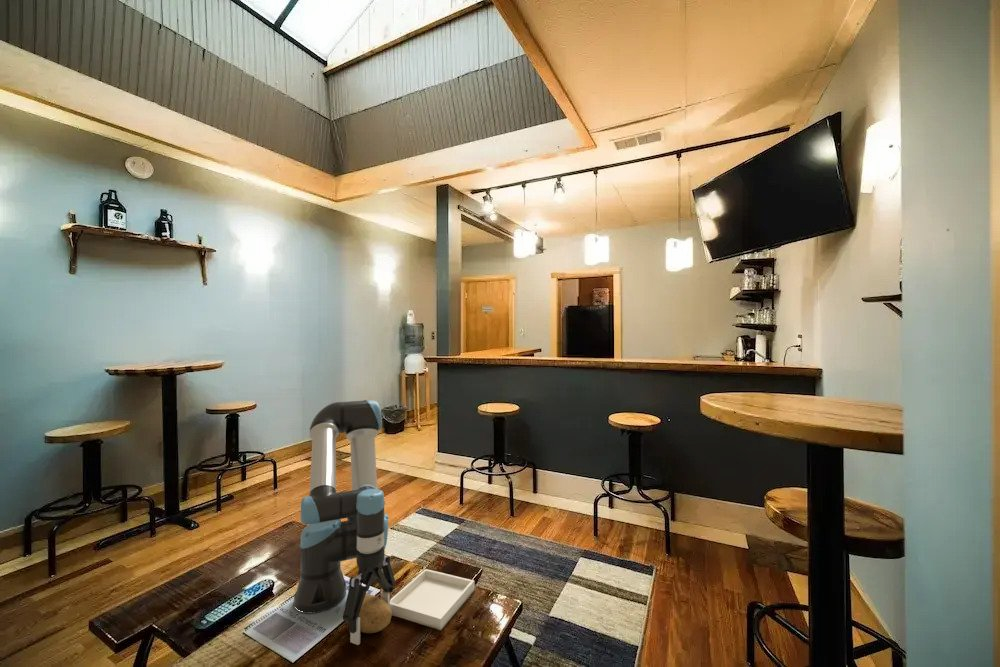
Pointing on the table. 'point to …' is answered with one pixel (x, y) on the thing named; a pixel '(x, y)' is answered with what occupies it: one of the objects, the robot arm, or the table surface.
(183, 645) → the table surface
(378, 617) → the potato
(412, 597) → the bin
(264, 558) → the table surface
